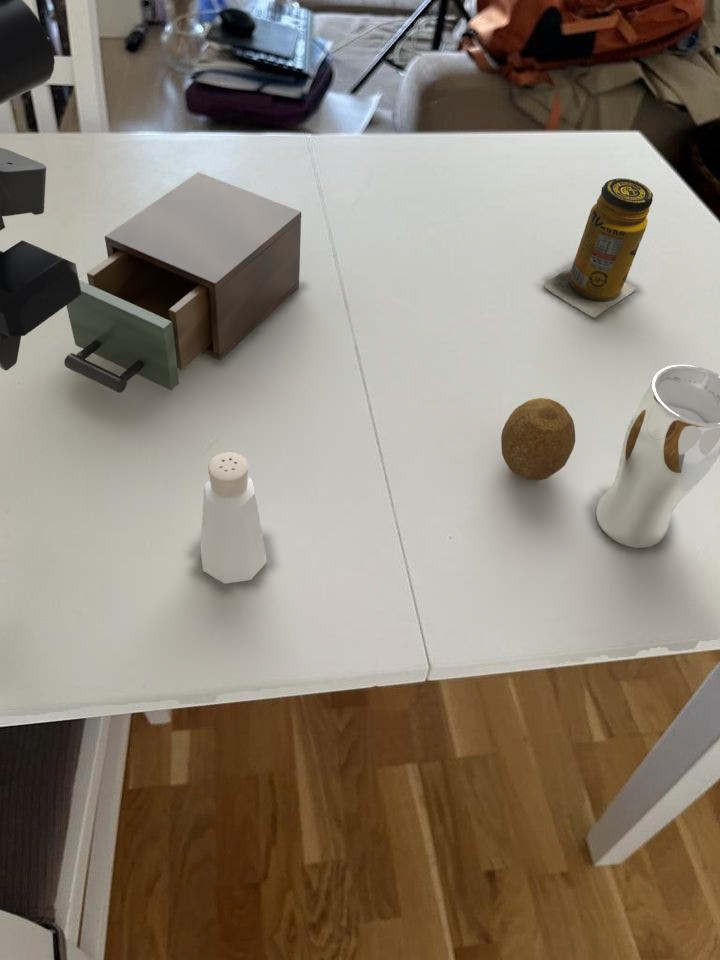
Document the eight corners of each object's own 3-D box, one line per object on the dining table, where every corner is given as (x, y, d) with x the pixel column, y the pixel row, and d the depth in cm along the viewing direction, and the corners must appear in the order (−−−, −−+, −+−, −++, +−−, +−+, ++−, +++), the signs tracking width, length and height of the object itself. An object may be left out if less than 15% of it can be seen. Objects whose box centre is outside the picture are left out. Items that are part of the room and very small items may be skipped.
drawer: (143, 416, 74) (133, 354, 69) (45, 368, 77) (27, 304, 72) (254, 315, 85) (252, 254, 79) (163, 276, 88) (156, 214, 82)
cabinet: (220, 361, 81) (215, 283, 74) (117, 314, 84) (104, 236, 77) (299, 287, 90) (301, 211, 83) (203, 247, 93) (198, 171, 86)
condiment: (636, 290, 94) (674, 193, 85) (593, 319, 90) (629, 221, 81) (584, 260, 98) (616, 164, 89) (540, 287, 93) (569, 189, 84)
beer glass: (677, 507, 73) (751, 381, 62) (662, 565, 69) (738, 441, 58) (601, 479, 75) (659, 351, 63) (581, 533, 70) (640, 406, 59)
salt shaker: (258, 591, 64) (256, 501, 56) (190, 578, 64) (178, 487, 56) (274, 536, 68) (275, 443, 59) (210, 524, 68) (201, 431, 60)
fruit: (519, 506, 72) (542, 442, 66) (479, 457, 75) (497, 393, 69) (575, 483, 74) (602, 420, 68) (533, 437, 78) (556, 373, 72)
